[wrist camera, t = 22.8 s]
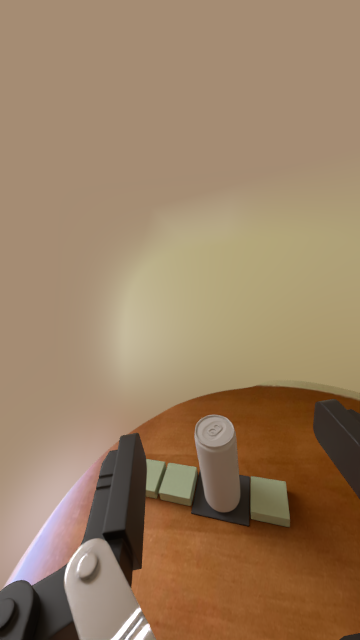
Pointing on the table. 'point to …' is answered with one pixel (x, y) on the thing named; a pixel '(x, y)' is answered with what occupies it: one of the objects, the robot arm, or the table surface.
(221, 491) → the beverage can
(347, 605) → the table surface
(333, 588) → the table surface
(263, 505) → the word
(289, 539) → the table surface
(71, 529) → the table surface
